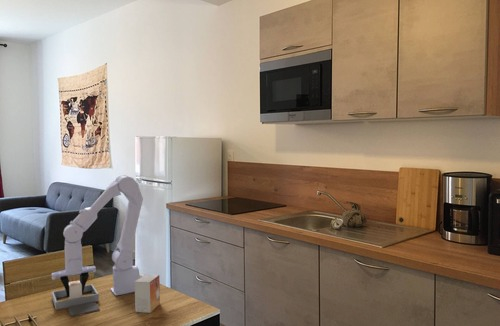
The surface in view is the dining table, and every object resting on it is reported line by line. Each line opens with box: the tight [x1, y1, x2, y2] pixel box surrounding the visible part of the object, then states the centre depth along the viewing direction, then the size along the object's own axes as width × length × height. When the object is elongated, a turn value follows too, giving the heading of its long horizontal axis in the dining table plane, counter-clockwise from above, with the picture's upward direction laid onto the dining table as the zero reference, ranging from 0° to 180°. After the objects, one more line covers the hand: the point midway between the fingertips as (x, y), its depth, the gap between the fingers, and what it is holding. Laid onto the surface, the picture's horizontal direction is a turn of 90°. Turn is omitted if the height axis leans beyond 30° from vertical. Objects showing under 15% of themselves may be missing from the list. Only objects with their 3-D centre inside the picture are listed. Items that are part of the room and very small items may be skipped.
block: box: [67, 280, 83, 300], centre depth 146 cm, size 4×5×6 cm
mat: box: [66, 301, 100, 318], centre depth 137 cm, size 9×8×1 cm
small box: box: [134, 273, 161, 314], centre depth 137 cm, size 8×6×10 cm
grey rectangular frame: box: [51, 283, 100, 311], centre depth 146 cm, size 14×12×2 cm
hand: (75, 294), depth 146 cm, fingers closed on block, 4 cm apart
